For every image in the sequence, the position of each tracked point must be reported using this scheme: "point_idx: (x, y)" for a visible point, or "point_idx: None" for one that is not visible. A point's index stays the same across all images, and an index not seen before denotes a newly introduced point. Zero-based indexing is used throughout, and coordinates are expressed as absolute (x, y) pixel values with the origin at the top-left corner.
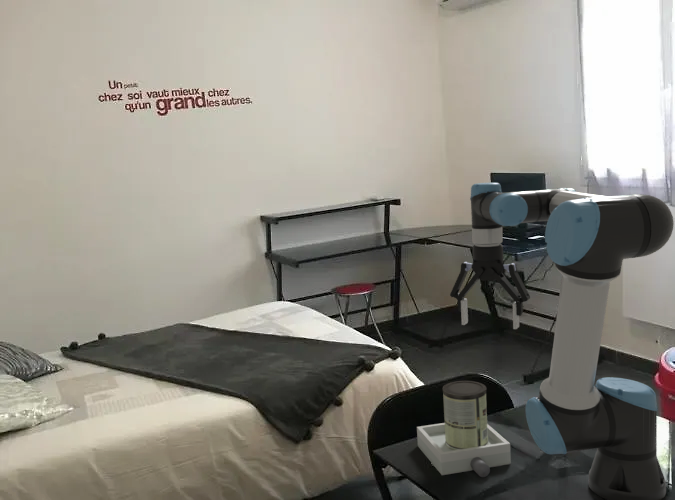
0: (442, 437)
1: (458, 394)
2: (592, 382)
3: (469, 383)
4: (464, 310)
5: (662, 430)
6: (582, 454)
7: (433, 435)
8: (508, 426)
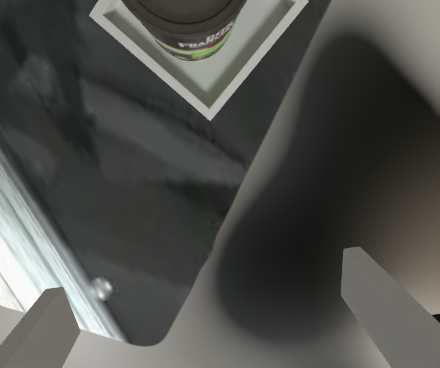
0: (248, 20)
1: None
2: None
3: (190, 12)
4: (405, 326)
5: None
6: (27, 131)
7: (269, 20)
8: (186, 178)
